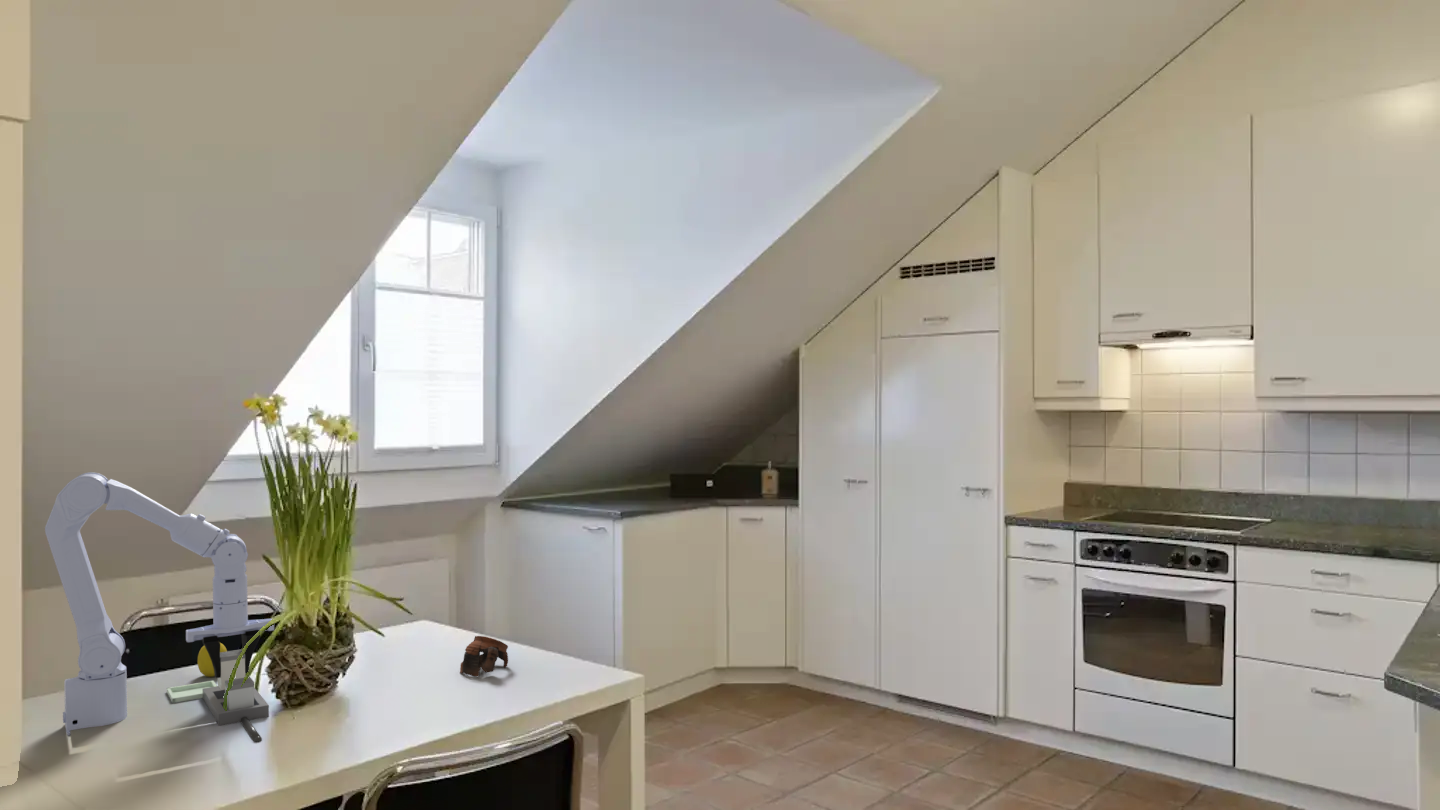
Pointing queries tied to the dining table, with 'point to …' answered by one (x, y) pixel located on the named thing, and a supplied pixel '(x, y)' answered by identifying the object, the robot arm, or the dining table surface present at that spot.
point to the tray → (188, 691)
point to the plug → (230, 666)
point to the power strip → (236, 710)
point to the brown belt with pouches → (483, 655)
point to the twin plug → (240, 694)
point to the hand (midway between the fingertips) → (231, 674)
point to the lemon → (207, 661)
